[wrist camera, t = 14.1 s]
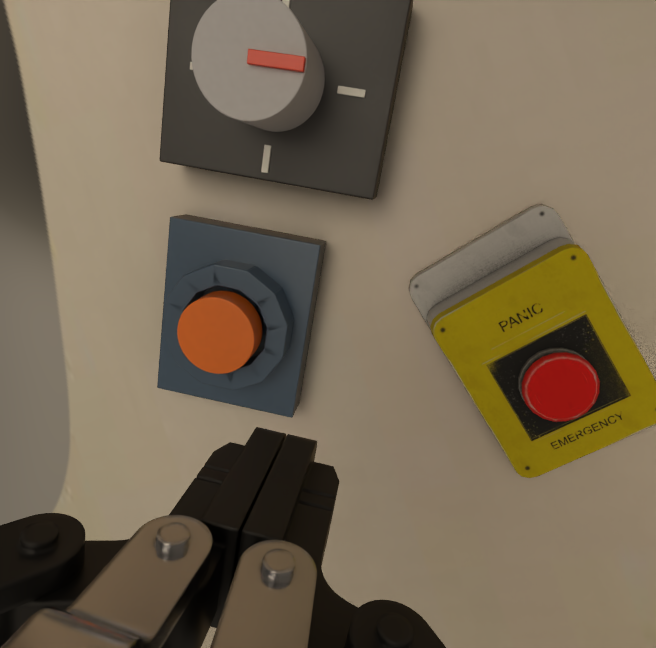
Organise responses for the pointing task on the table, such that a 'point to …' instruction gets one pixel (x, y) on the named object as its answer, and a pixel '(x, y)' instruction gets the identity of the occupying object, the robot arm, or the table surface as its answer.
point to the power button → (219, 332)
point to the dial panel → (327, 120)
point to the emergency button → (537, 342)
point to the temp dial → (257, 64)
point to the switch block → (260, 290)
